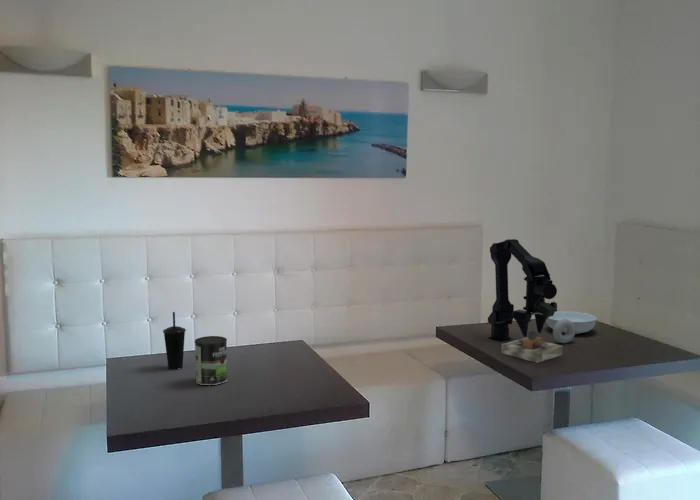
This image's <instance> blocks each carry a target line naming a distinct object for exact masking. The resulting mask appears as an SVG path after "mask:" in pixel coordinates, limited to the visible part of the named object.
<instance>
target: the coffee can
mask: <svg viewBox="0 0 700 500" xmlns="http://www.w3.org/2000/svg"><path fill="white" fill-rule="evenodd" d="M227 340H228V338H226V337H224V336H219V335H209V336H208V335H207V336H202V337H198V338H195V339H194V344H195V346H194V349H195V350H194V351H195V354H194V355H195V383H196V384H197V383H198V384H200V385H199V386H201V385H209V386H208V387H211V386H210V385H217V384H221V383H224V382H226V381H227V382H228V358H227V357H228V356H227V355H228V354H227V349H228V348H227V347H228V346H227ZM227 382H226V383H227ZM198 384H197V385H198ZM224 384H225V383H224ZM221 385H222V384H221ZM217 386H218V385H217Z"/></svg>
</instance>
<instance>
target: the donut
mask: <svg viewBox="0 0 700 500" xmlns="http://www.w3.org/2000/svg"><path fill="white" fill-rule="evenodd" d="M564 327H566V328H567V332H566V333H564V334H563V333H562V329H563V328H564ZM575 331H576V330H575V326H574V324H573V322H572V321H570V320H568V319H561V320H559V321H558V322H557V323H556V324H555V325H554V328H553V329H552V335H553V337H554V340H556V342H558V343H560V344H569V342H571V341H572V340H573V339H574V338H575V335H576V334H575Z"/></svg>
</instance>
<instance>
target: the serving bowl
mask: <svg viewBox="0 0 700 500" xmlns="http://www.w3.org/2000/svg"><path fill="white" fill-rule="evenodd" d="M561 319H568V320H570V321H572V322H573V324H574V326H575V330H576V331H575V335H579V334H584V333H587V332H589V331H591V330H593V329H594V328H595V326H596V324H597V317H596V315H594V314H591V313H585V312H581V311H573V310H572V311H570V310H568V311H566V310H559V311H558V310H557V312H555V313H554V315H553V316H550V317H549V318H547V319H546V321H545V323H546V324H547V326H548V327H550V328H551V329H552V330H553V328H554V325H555V324H556V323H557V322H558V321H559V320H561ZM566 332H567V328H566V327H564V328H563V329H562V332H561V333H562V334H566Z"/></svg>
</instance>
